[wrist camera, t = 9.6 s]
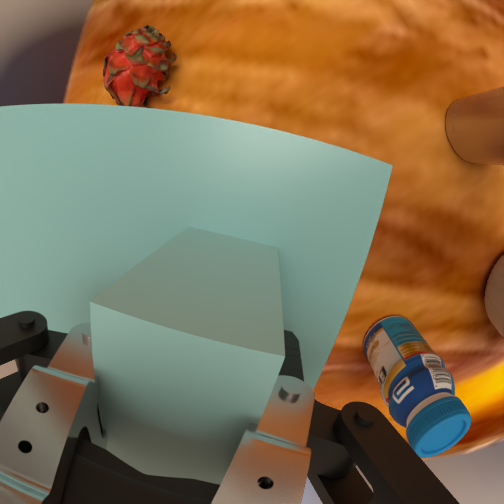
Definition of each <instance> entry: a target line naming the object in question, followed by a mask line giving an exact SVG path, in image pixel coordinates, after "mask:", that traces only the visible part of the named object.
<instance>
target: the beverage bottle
mask: <svg viewBox="0 0 504 504" xmlns="http://www.w3.org/2000/svg"><path fill="white" fill-rule="evenodd" d="M363 349H364V353H365V356H366V358H367V360H368V361H369V363H370V365H371V367H372V369H373V371H374V374H375V376H376V378H377V381H378V383H379V386H380V388H381V395H382V398H383V400H384V402H385V404H386V405H387V406H388V407H389V412H390V415H391V416H392V418H393V419H394V420H395V421H396V422H397V423H398V424H400V425H401V426H403V427H405V428H406V436H407V438H408V441H409V444H410V446H411V448H412V449H413V450H414V451H415V452H416V454H417V455H418V456H419V457H421V458H427V457H432V456H435V455H438V454H440V453H442V452H444V451H446V450H448V449H449V448H451V447H452V446H453V445H455V444H456V443H457V442H458V441H459V440H460V439H461V438H462V437H463V436H464V435H465V434H466V432H467V431H468V429H469V427H470V424H471V417H470V413H469V412H468V410H467V409H466V407H465V406H464V404H463V403H462V401H461V400H460V399H459V398H458V397H456V396H454V395H455V386H454V381H453V377H452V375H451V373H450V372H449V371H448V370H447V369H445V365H444V363H443V361H442V359H441V358H440V357H439V356H438V355H437V354H435V352H434V351H433V350H432V349H431V347H430V346H429V345H428V344H427V342H426V341H425V340H424V339H423V337H422V336H421V335H420V334H419V332H418V331H417V330H416V329H415V327H414V326H413V324H412V323H411V322H410V321H409V320H408V319H406V318H404V317H402V316H389V317H386V318H384V319H382V320H380V321H378V322H377V323H376V324H374V325H373V326H372V327H371V328H370V330H369V331H368V333H367V334H366V337H365V339H364V344H363Z"/></svg>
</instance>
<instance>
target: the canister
mask: <svg viewBox="0 0 504 504" xmlns="http://www.w3.org/2000/svg"><path fill="white" fill-rule="evenodd" d="M484 300H485V309H486V312H487V315H488V318H489V319H490V321H491V322H492V324H493V325H494V327H495V328H496V329H497V330H498V332H499V333H500V334H501V336H502V337H503V338H504V255H502V256H501V257H500V259H499V260H498V261H497V263H496V264H495V265H494V268H493V269H492V271H491V274H490V275H489V279H488V281H487V285H486V290H485V297H484Z"/></svg>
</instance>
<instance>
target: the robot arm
mask: <svg viewBox="0 0 504 504" xmlns="http://www.w3.org/2000/svg"><path fill="white" fill-rule="evenodd" d="M445 125H446V132H447V136H448V139H449V142H450V144H451V146H452V148H453V149H454V151H455V152H456V153H457V154H458V156H460V157H461V158H462V159H463V160H465V161H467V162H470V163H479V164H497V165H504V87H501V88H497V89H493V90H490V91H486V92H482V93H479V94H475V95H472V96H468V97H465V98H462V99H459V100H456V101H454V102H453V103H452V104H451V105H450V106H449V108H448V110H447V114H446V121H445ZM284 344H285V358H284V361H283V364H282V366H281V369H280V372H279V374H278V377H277V380H276V382H275V385H274V387H273V390H272V393H271V395H270V398H269V400H268V403H267V405H266V408H265V410H264V413H263V415H262V417H261V420H260V422H259V424H255V423H249V426H248V428H247V429H246V431H245V433H244V435H243V437H242V440H241V442H240V444H239V446H238V449H237V451H236V453H235V455H234V457H233V459H232V462H231V464H230V466H229V468H228V470H227V472H226V474H225V476H224V478H223V481H222V483H221V485H219V484H214V483H210V482H205V481H201V480H197V479H191V478H175V477H164V476H155V475H147V474H144V473H142V472H140V471H138V470H136V469H135V468H133V467H131V466H130V465H128V464H127V463H125V462H124V461H122V460H121V459H119V458H118V457H116V456H115V455H113V454H112V453H110V452H109V451H107V450H106V447H107V442H108V437H107V431H106V430H105V429H102V425H101V419H100V414H99V407H98V399H99V395H100V392H101V390H100V381H99V377H98V376H95V375H94V367H93V356H92V342H91V322H87V323H81V324H78V325H76V326H74V327H73V328H72V329H71V330H70V332H69V333H62V332H57V331H52V330H48V325H47V320H46V318H45V317H44V316H43V315H42V314H40V313H38V312H35V311H21V312H17V313H14V314H11V315H8V316H5V317H2V318H0V365H2V364H5V363H7V362H9V361H12V360H14V359H15V361H16V364H17V368H18V372H15V373H13V374H11V375H9V376H6V377H4V378H2V379H0V504H301V501H302V497H303V492H304V487H305V483H306V478H307V476H308V478H309V480H310V482H311V483H312V485H313V487H314V489H315V491H316V492H317V494H318V496H319V497H320V500H321V501H322V503H323V504H459V502H458V501H457V500H456V499H455V498H454V497H453V495H452V494H451V493H450V492H449V491H448V490H447V489H446V488H445V486H444V485H443V484H442V483H441V482H440V480H439V479H438V478H437V477H436V476H435V475H434V474H433V472H432V471H431V470H430V469H429V468H428V467H427V465H426V464H425V463H424V462H423V461H422V459H421V458H420V457H419V456H418V455H417V454H416V452H415V451H414V450H413V449H412V448H411V447H410V445H409V444H408V443H407V442H406V441H405V440H404V438H403V437H402V436H401V435H400V434H399V433H398V431H397V430H396V429H395V428H394V427H393V426H392V424H391V423H390V422H389V421H388V420H387V419H386V417H385V416H384V415H383V414H382V413H381V412H380V411H379V410H378V409H377V408H375V407H374V406H372V405H370V404H367V403H364V402H350V403H348V404H346V405H345V406H344V407H343V408H342V410H341V411H340V410H338V409H335V408H332V407H329V406H326V405H324V404H322V403H320V402H318V401H316V400H315V395H314V392H313V390H312V389H311V387H310V386H309V385H308V384H307V383H305V382H304V376H303V368H302V360H301V353H300V345H299V340H298V339H297V337H296V336H295V335H294V333H293V332H292V331H287V330H284ZM356 465H357V466H358V467H359V469H360V470H361V472H362V473H363V474H364V476H365V477H366V479H367V480H368V482H369V483H370V484H371V486H372V488H373V492H372V490H371V489H370V488H369V486H368V485H367V483H366V482H365V480H364V479H363V477H362V476H361V475H360V473H359V472H358V470H357V469H356V467H355V466H356Z"/></svg>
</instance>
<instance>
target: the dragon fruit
mask: <svg viewBox="0 0 504 504" xmlns="http://www.w3.org/2000/svg"><path fill="white" fill-rule="evenodd" d="M170 46H171V43H170V41H168V42H165V37H164V36H163V35H162V34H161V33H159V31H158V30H156V29H155V28H153V27H152V26H151V25H149V26H148V25H146V26H143V27H141V28H140V29H136V30H135V31H130V32H128V33H126V34H125V35H124V36H123V40H119V41H118V43H117V45H116V47H115V48H114V49H113V50H112V51H110V52H109V53H108V54H107V55H106V56H105V58H104V69H103V76H104V86H105V89H106V90H107V91H108V92H109V93H110V94H111V96H112V98H113V99H115V100H116V103H117V104H118V106H132V107H144V106H146V105H147V102H148V100H149V99H150V96H151V94H150V95H149V97H148V95H147V93H148V92H149V91H152V92H154V93H156V94H160V95H162V94H167V93H168V91H169V89H170V86H169V87H167V88H164V89H163V90H159V89H158V86H157V82H158V80H161V81H164V80H165V79H167V78H168V76H169V75H168V70H167V69H168V64H171V63H173V62H174V61H175V60H176V58H177V55H176V54H175V53H173V55H174V56H175V57H174V58H173V59H167V58H166V56H165V54H164V53H165V51H167V50H168V49H169V48H170ZM146 95H147V97H146ZM145 97H146V98H145Z"/></svg>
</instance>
